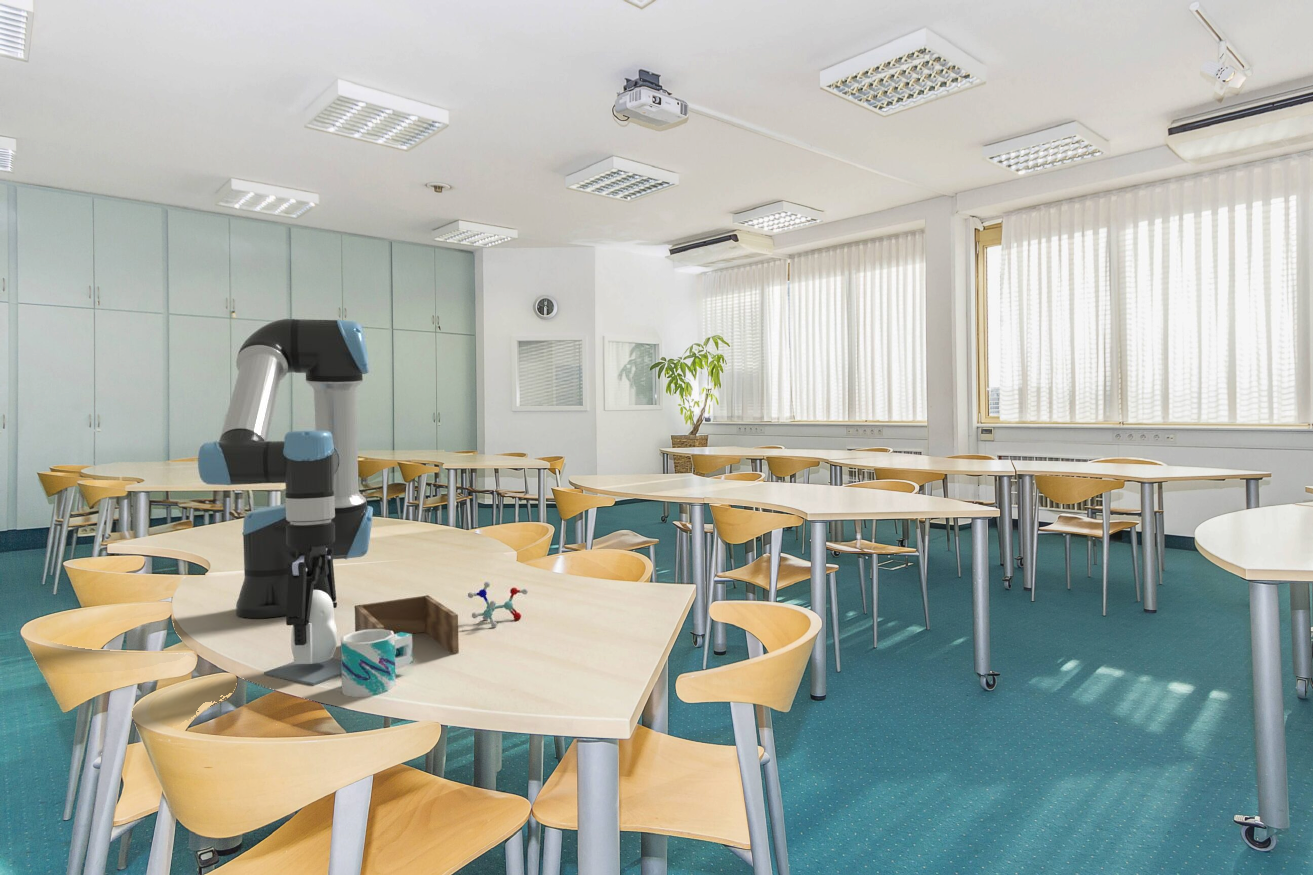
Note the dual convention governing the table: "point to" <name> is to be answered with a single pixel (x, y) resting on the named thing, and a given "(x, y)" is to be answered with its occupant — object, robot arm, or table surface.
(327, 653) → the figurine
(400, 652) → the mug
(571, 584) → the table surface
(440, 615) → the walnut box
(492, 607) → the molecular model
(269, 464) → the robot arm
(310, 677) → the felt mat
